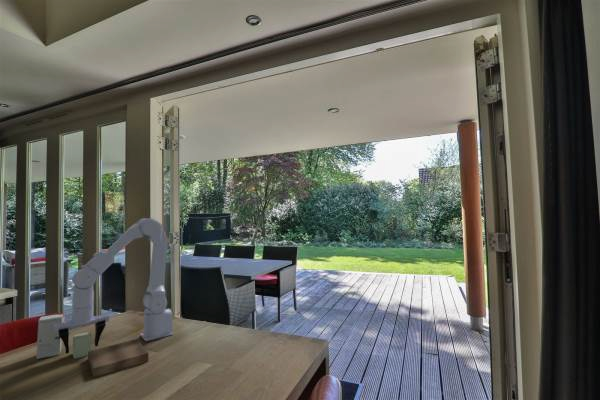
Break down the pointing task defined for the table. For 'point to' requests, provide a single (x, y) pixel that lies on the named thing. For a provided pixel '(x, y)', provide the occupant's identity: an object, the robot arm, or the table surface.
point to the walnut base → (116, 357)
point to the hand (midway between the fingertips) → (82, 348)
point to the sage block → (81, 344)
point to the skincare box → (48, 336)
